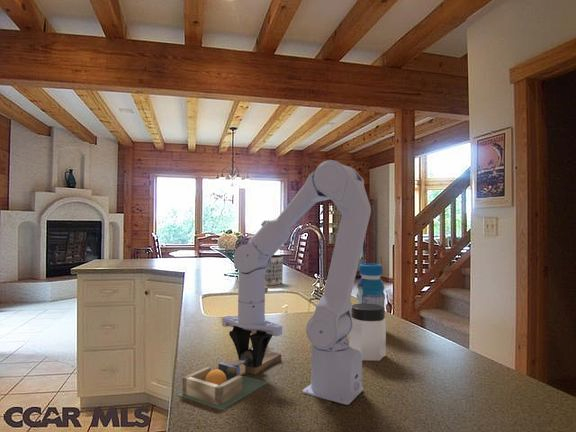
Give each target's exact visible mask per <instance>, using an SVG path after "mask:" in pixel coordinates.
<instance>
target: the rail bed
mask: <svg viewBox="0 0 576 432" xmlns="http://www.w3.org/2000/svg"><path fill="white" fill-rule="evenodd" d="M281 361H282V353H279V352H273V351H271V352H269V353H267V354H265V356H264V358H263V361H262V365H261V366H259V367H257V368H255V367H254V366H253V365H251V366H248V367H247V366H245V365H244V372H245V373H248V374H251V375H257V374H258V373H260V372H262V371H264V370H265V369H267V368H269V367H271V366H273V365H274V364H278V363H280V362H281Z"/></svg>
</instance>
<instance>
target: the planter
mask: <svg viewBox="0 0 576 432" xmlns="http://www.w3.org/2000/svg"><path fill="white" fill-rule="evenodd" d="M283 260H284V256H283V255H280V254H279V255H278V254H277V255H276V254H274V255H273V256H272V257H271V262H270V264H269V266H268V267H267V269H266V276H265V285H266V286H276V285H275V284H279V285H281V284H283V279H284V278H283V277H284V276H283V275H284V274H283V271H284V270H283V269H284V267H283V266H284V265H283V264H284V261H283ZM280 283H281V284H280Z"/></svg>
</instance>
